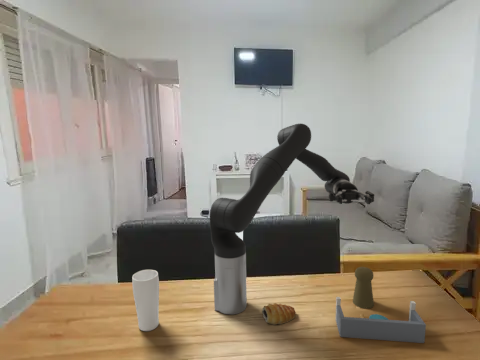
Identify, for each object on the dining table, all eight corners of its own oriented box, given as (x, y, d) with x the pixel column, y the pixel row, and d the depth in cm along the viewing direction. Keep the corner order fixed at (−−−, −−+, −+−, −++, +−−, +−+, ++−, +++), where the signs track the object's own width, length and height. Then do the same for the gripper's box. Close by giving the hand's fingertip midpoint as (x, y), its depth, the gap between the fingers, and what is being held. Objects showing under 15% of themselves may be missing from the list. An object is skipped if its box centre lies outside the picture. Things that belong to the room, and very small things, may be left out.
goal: (340, 336, 77) (341, 311, 76) (335, 320, 84) (336, 296, 83) (424, 343, 74) (426, 317, 73) (412, 325, 81) (414, 301, 80)
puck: (375, 337, 76) (376, 327, 76) (364, 325, 81) (365, 315, 81) (393, 335, 77) (394, 325, 77) (381, 323, 82) (382, 313, 81)
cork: (375, 309, 88) (377, 274, 86) (354, 307, 90) (354, 272, 88) (371, 298, 94) (372, 265, 92) (351, 296, 95) (352, 263, 94)
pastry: (290, 308, 90) (290, 296, 89) (300, 322, 83) (300, 309, 83) (260, 313, 88) (260, 301, 87) (268, 328, 81) (268, 315, 81)
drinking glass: (138, 337, 78) (133, 283, 76) (134, 323, 84) (130, 272, 82) (164, 329, 81) (160, 277, 79) (158, 315, 87) (155, 267, 85)
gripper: (325, 180, 111) (332, 189, 95) (365, 181, 109) (379, 189, 93) (324, 200, 112) (331, 212, 97) (364, 201, 110) (378, 213, 95)
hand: (355, 201), depth 95 cm, fingers open, 8 cm apart
